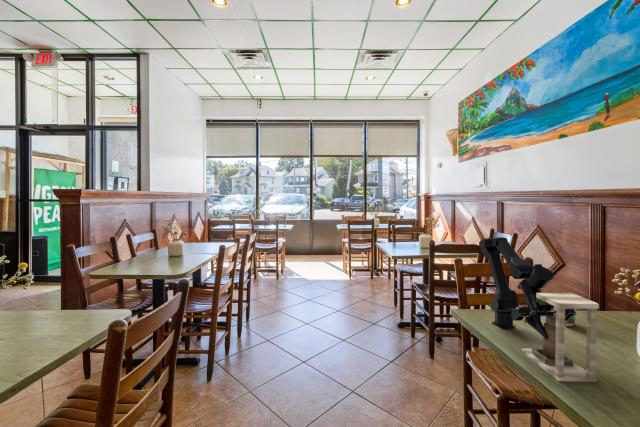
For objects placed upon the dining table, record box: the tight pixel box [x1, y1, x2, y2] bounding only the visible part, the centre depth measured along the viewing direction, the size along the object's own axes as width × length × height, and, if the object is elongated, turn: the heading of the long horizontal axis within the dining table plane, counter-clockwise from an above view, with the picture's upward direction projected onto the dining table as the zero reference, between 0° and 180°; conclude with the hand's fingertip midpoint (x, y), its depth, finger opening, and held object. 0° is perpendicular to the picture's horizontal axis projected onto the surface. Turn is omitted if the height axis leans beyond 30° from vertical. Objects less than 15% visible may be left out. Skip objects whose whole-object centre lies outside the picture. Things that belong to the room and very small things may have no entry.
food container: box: [552, 306, 578, 328], centre depth 132 cm, size 12×6×10 cm, turn 168°
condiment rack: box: [521, 292, 600, 383], centre depth 99 cm, size 18×11×24 cm, turn 177°
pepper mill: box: [542, 316, 556, 360], centre depth 102 cm, size 4×4×13 cm
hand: (554, 338), depth 100 cm, fingers closed on pepper mill, 4 cm apart
